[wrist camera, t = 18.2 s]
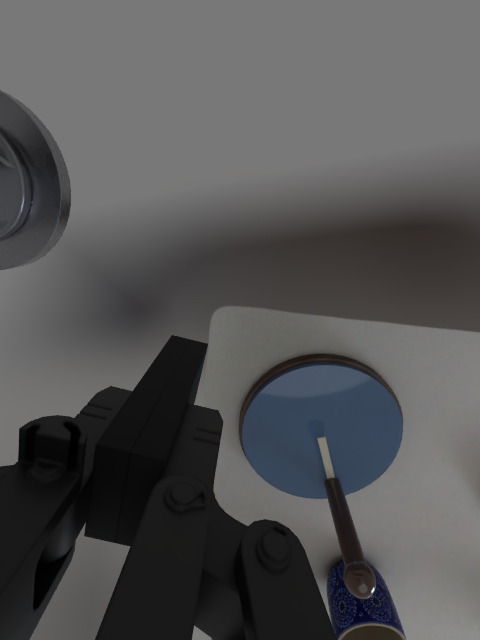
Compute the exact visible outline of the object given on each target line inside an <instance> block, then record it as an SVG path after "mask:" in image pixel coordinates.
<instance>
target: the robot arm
mask: <svg viewBox="0 0 480 640" xmlns="http://www.w3.org/2000/svg"><path fill="white" fill-rule="evenodd" d="M30 203H31V183H30V178H29V174H28V170H27V168H26V165H25V163H24V160H23V158H22V156H21V155H20V153H19V151H18V150H17V148H16V147H15V145H14V144H13V143H12V141H11V140H10V139H9V138H8V137H7V136H6V135H5V134H4V133H3V132H2V131H1V130H0V240H1V239H4V238H6V237H8V236H10V235H12V234H13V233H14V232H15V231H17V230H18V229H19V228H20V226H21V225H22V224H23V222H24V220H25V219H26V217H27V214H28V211H29V208H30ZM207 346H208V344H206V343H202V342H198V341H194V340H190V339H186V338H182V337H178V336H173V335H172V336H171V338H170V339H169V340H168V342H167V343H166V344H165V346H164V347H163V349H162V350H161V352H160V353H159V354H158V356H157V357H156V359H155V360H154V362H153V363H152V364H151V366H150V367H149V369H148V370H147V372H146V373H145V375H144V376H143V378H142V379H141V380H140V382H139V383H138V384H137V386H136V387H135V389H134V390H133V391H129V390H125V389H120V388H117V387H112V386H110V387H108V388H106V389H104V390H102V391H100V392H98V393H97V394H96V395H95V396H94V397H93V398H92V399H91V400H90V401H89V402H88V404H87V405H86V406H85V407H84V408H83V409H82V410H81V411H80V414H78V415H77V416H76V417H75V418H72V417H68V416H59V415H56V416H47V417H42V418H39V419H36V420H33V421H30V422H29V423H27V424H26V425H24V426H22V427H21V428H20V429H19V456H18V462H17V463H16V464H15V465H10V466H1V467H0V640H29V639H30V637H31V636H32V634H33V632H34V630H35V628H36V626H37V624H38V622H39V620H40V618H41V617H42V615H43V613H44V611H45V609H46V607H47V605H48V603H49V602H50V600H51V598H52V596H53V594H54V592H55V590H56V589H57V587H58V585H59V583H60V581H61V579H62V577H63V575H64V573H65V572H66V570H67V568H68V566H69V564H70V562H71V560H72V557H73V553H74V550H75V542H76V539H77V537H78V535H79V533H80V531H81V530H82V528H83V526H84V524H85V522H86V526H85V534H84V536H86V537H91V538H95V539H100V540H104V541H109V542H113V543H118V544H122V545H127V546H131V547H130V549H129V552H128V555H127V557H126V560H125V563H124V565H123V568H122V570H121V573H120V576H119V578H118V581H117V584H116V586H115V589H114V591H113V594H112V597H111V599H110V602H109V604H108V607H107V610H106V612H105V615H104V618H103V620H102V623H101V626H100V628H99V631H98V634H97V636H96V639H95V640H192V634H193V628H194V625H195V626H196V627H197V628H199V629H200V630H202V631H203V632H204V633H206V634H207V635H209V636H210V637H211V638H212V640H337V638H336V635H335V632H334V630H333V627H332V624H331V621H330V619H329V616H328V613H327V610H326V608H325V605H324V602H323V599H322V597H321V594H320V591H319V588H318V585H317V583H316V580H315V577H314V574H313V572H312V569H311V566H310V563H309V561H308V558H307V555H306V552H305V550H304V548H303V546H302V544H301V542H300V541H299V539H298V537H297V536H296V535H295V534H294V533H293V532H292V531H291V530H290V529H289V528H287V527H286V526H284V525H282V524H280V523H279V522H277V521H271V520H266V519H264V520H259V521H254V522H253V523H252V524H251V525H249V526H246V525H244V524H242V523H241V522H239V521H237V520H235V519H234V518H232V517H231V516H230V515H228V514H227V513H226V512H225V511H224V510H223V509H222V508H221V507H220V506H219V504H218V502H217V500H216V499H215V495H214V491H213V484H214V477H215V471H216V465H217V458H218V452H219V445H220V440H221V433H222V427H223V420H222V418H221V415H220V413H219V411H218V410H214V409H209V408H205V407H201V406H197V405H194V402H195V398H196V394H197V389H198V385H199V381H200V377H201V372H202V368H203V363H204V359H205V355H206V351H207Z"/></svg>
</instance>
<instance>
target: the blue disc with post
mask: <svg viewBox="0 0 480 640" xmlns="http://www.w3.org/2000/svg"><path fill="white" fill-rule="evenodd" d="M402 433H403V425H402V418H401V414H400V410H399V408H398V406H397V403H396V402H395V400H394V398H393V397H392V395H391V394H390V393H389V391H388V390H387V389H386V388H385V387H384V385H383V384H381V383H380V382H379V381H378V380H377V379H376V378H374V377H373V376H371V375H370V374H368V373H366V372H364V371H362V370H360V369H358V368H355V367H352V366H349V365H345V364H340V363H332V362H316V363H309V364H303V365H300V366H296V367H293V368H290V369H288V370H286V371H283V372H281V373H280V374H278V375H276V376H275V377H273V378H272V379H270V380H269V381H268V382H266V383H265V384H264V385H263V386H262V387H261V388H260V389H259V390H258V391H257V393H256V394H255V395H254V397H253V398H252V400H251V401H250V403H249V405H248V407H247V410H246V412H245V415H244V420H243V427H242V441H243V447H244V451H245V454H246V456H247V458H248V460H249V462H250V464H251V466H252V467H253V468H254V470H255V471H256V472H257V473H258V474H259V475H260V476H261V477H262V478H263V479H264V480H265V481H266V482H268V483H269V484H270V485H272V486H274V487H275V488H277V489H279V490H281V491H283V492H286V493H288V494H292V495H295V496H299V497H304V498H314V499H326V498H328V502H329V506H330V510H331V514H332V518H333V522H334V526H335V530H336V534H337V537H338V541H339V545H340V549H341V553H342V557H343V561H344V565H345V569H344V574H343V577H344V582H345V585H346V587H347V589H348V590H349V592H350V593H351V594H352V595H353V596H355V597H357V598H359V599H368V598H370V597H371V596H372V595H373V594H374V592H375V589H376V578H375V575H374V573H373V571H372V569H371V568H370V567H369V566H368V565H367V564H366V561H365V558H364V555H363V551H362V548H361V545H360V542H359V539H358V536H357V532H356V529H355V526H354V523H353V520H352V517H351V514H350V510H349V507H348V504H347V501H346V498H345V495H347V494H350V493H353V492H356V491H358V490H360V489H362V488H364V487H366V486H368V485H369V484H371V483H372V482H374V481H375V480H376V479H378V478H379V477H380V476H381V475H382V474H383V473H384V472H385V471H386V470H387V469H388V467H389V466H390V465H391V464H392V462H393V460H394V459H395V457H396V455H397V453H398V450H399V448H400V445H401V441H402Z"/></svg>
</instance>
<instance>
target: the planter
mask: <svg viewBox="0 0 480 640" xmlns="http://www.w3.org/2000/svg"><path fill="white" fill-rule="evenodd" d="M366 564H367V565H368V566H369V567H370V568H371V569H372V571H373V573H374V575H375V578H376V589H375V592H374V594H373V595H372V596H371V597H370V598H368V599H359V598H357V597H355V596H353V595H352V594H351V593H350V592H349V590H348V589H347V587H346V585H345V582H344V577H343V574H344V569H345V565H344V561H340V562H339V563H337V564H336V565H335V566H334V567H333V568H332V570H331V571H330V573H329V576H328V580H327V597H328V605H329V611H330V617H331V623H332V627H333V630H334V632H335V635H336V638H337V640H406V637H405V634H404V631H403V628H402V625H401V622H400V619H399V616H398V613H397V611H396V608H395V605H394V603H393V600H392V597H391V595H390V592H389V590H388V588H387V585H386V583H385V581H384V579H383V578H382V576H381V574H380V573H379V572H378V571H377V570H376V569H375V568H374V567H373V566H372V565H370V564H369V563H367V562H366Z"/></svg>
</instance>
